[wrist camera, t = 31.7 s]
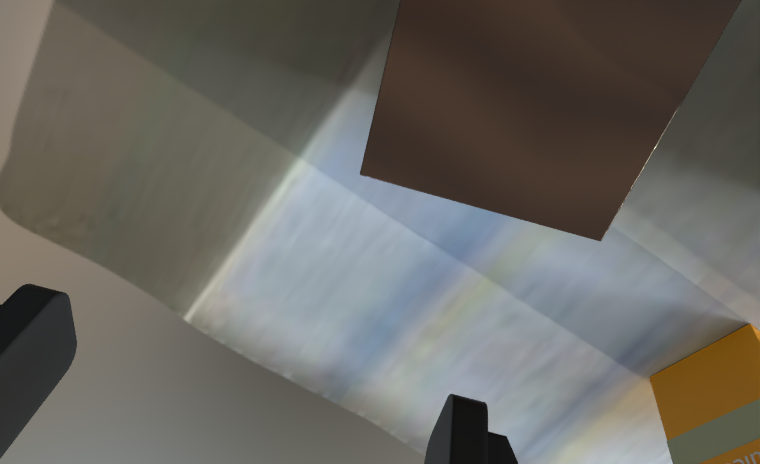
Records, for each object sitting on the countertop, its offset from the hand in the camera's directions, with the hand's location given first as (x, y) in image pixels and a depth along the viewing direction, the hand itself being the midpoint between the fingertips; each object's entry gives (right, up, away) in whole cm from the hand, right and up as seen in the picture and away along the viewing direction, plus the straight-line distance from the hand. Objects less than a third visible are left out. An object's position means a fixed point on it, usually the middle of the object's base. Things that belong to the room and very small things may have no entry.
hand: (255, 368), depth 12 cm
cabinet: (+11, +15, +20) cm, 27 cm away
